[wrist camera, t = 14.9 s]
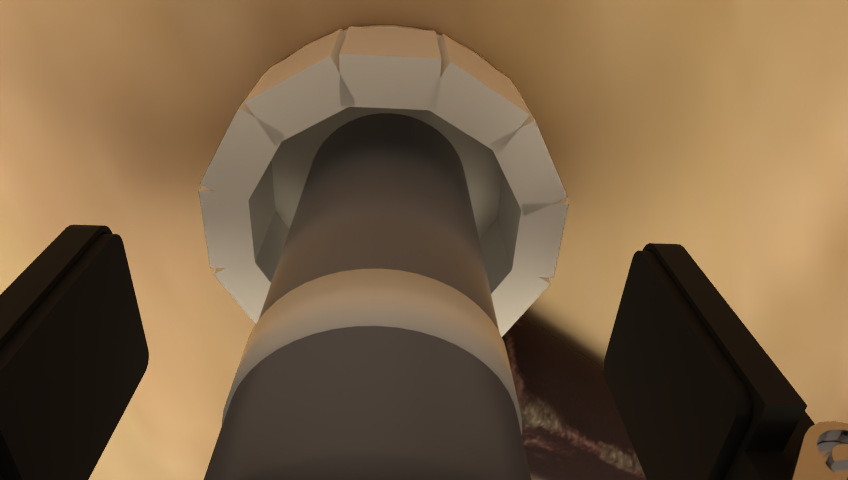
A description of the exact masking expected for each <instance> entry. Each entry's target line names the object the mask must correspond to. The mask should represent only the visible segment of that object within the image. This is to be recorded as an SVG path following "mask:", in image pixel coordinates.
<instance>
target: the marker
mask: <svg viewBox="0 0 848 480" xmlns="http://www.w3.org/2000/svg"><path fill="white" fill-rule="evenodd" d="M204 480H531V476H530V471H529V467H528V462H527V458H526V453H525V448H524V444H523V439H522V419H521V413H520V408H519V404H518V399H517V395H516V390H515V386H514V381H513V377H512V372H511V368H510V364H509V359H508V355H507V351H506V347H505V344H504V341H503V339H502V337H501V335H500V333H499V329H498V324H497V319H496V315H495V310H494V306H493V301H492V296H491V292H490V287H489V283H488V278H487V273H486V269H485V264H484V260H483V255H482V250H481V246H480V241H479V236H478V232H477V227H476V223H475V218H474V213H473V209H472V204H471V200H470V195H469V190H468V186H467V181H466V177H465V172H464V168H463V165H462V162H461V160H460V157H459V155H458V154H457V152H456V150H455V149H454V147H453V146H452V144H451V143H450V142H449V141H448V139H447V138H446V137H444V136H443V135H442V134H441V133H440V132H439V131H438V130H436V129H435V128H433V127H432V126H431V125H429V124H427V123H425V122H423V121H421V120H418V119H416V118H413V117H410V116H406V115H401V114H393V113H378V114H371V115H366V116H363V117H359V118H356V119H354V120H352V121H349V122H347V123H346V124H344V125H342V126H341V127H339V128H338V129H337V130H335V131H334V132H333V133H332V134H330V136H329V137H328V138H327V139H326V140H325V141H324V142H323V144H322V145H321V146H320V148H319V149H318V151H317V153H316V155H315V157H314V159H313V162H312V165H311V168H310V171H309V174H308V177H307V180H306V183H305V186H304V189H303V192H302V194H301V197H300V200H299V203H298V206H297V209H296V212H295V215H294V218H293V221H292V224H291V227H290V229H289V232H288V235H287V238H286V241H285V244H284V247H283V250H282V253H281V256H280V259H279V262H278V264H277V267H276V270H275V273H274V276H273V279H272V282H271V285H270V288H269V291H268V294H267V297H266V300H265V302H264V305H263V308H262V311H261V314H260V317H259V320H258V322H257V323H256V325H255V327H254V328H253V330H252V332H251V334H250V336H249V338H248V341H247V344H246V347H245V350H244V353H243V355H242V358H241V361H240V364H239V367H238V370H237V373H236V375H235V378H234V381H233V384H232V387H231V390H230V393H229V395H228V398H227V401H226V405H225V408H224V411H223V420H222V428H221V431H220V434H219V437H218V440H217V443H216V445H215V448H214V451H213V454H212V457H211V460H210V463H209V466H208V469H207V472H206V475H205V478H204Z"/></svg>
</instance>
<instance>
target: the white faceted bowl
mask: <svg viewBox="0 0 848 480" xmlns="http://www.w3.org/2000/svg"><path fill="white" fill-rule="evenodd" d="M378 113H393V114H401V115H406V116H410V117H413V118H416V119H418V120H421V121H423V122H425V123H427V124H429V125H431V126H432V127H433V128H435V129H436V130H438V131H439V132H440V133H441V134H442V135H443V136H444V137H446V138H447V139H448V141H449V142H450V143H451V144H452V146H453V147H454V149H455V150H456V152H457V154H458V155H459V157H460V160H461V162H462V165H463V168H464V172H465V177H466V181H467V186H468V190H469V195H470V200H471V204H472V209H473V213H474V218H475V223H476V227H477V232H478V236H479V241H480V246H481V250H482V255H483V260H484V264H485V269H486V273H487V278H488V283H489V287H490V292H491V296H492V301H493V306H494V310H495V315H496V319H497V324H498V329H499V333H500V335H501V337H502V336H503V335H504V334H505V333H506V332H507V331H508V330H509V329H510V328H511V327H512V325H513V324H514V323H515V322H516V321H517V320H518V319H519V318H520V317H521V316H522V314H523V313H524V312H525V311H526V310H527V309H528V308H529V307H530V306H531V305H532V304H533V302H534V301H535V300H536V299H537V298H538V297H539V296H540V295H541V294H542V293H543V291H544V290H545V289H546V288H547V287H548V286H549V285H550V282H549V279H548V277H549V278H554V274H555V269H556V264H557V259H558V254H559V249H560V244H561V239H562V234H563V229H564V224H565V219H566V214H567V209H568V203H567V201H566V199H565V198H567V194H566V192H565V190H564V187H563V185H562V182H561V180H560V178H559V175H558V173H557V171H556V168H555V166H554V164H553V161H552V159H551V157H550V154H549V152H548V149H547V147H546V145H545V142H544V140H543V138H542V135H541V133H540V131H539V128H538V126H537V124H536V121H535V119H534V118H533V116H532V114H531V112H530V111H529V109H528V107H527V105H526V104H525V102H524V100H523V98H522V97H521V95H520V93H519V91H518V90H517V88H516V86H515V85H513V83H512V82H511V80H510V79H509V78H508V77H506V76H505V75H503V74H502V73H500V72H499V71H497V70H496V69H495V68H494V67H493V66H492V65H490V64H489V63H488V62H487V61H485V60H484V59H483V58H482V57H480V56H479V55H478V54H477V53H475V52H474V51H472V50H470V49H468V48H467V47H465V46H463V45H462V44H460V43H458V42H456V41H454V40H452V39H450V38H449V37H447V36H446V35H444V34H442V35H439V34H437V33H435V31H430V30H422V29H418V28H414V27H406V26H397V25H369V26H363V27H353V26H349V29H346V30H342V28H341V29H339V30H337V31H335V32H334V33H332V34H329V35H326V36H324V37H322V38H320V39H318V40H315V41H313V42H311V43H309V44H307V45H305V46H304V47H302V48H301V49H299V50H298V51H296V52H295V53H293V54H291V55H290V56H289V57H288V58H286V59H285V60H283V61H281V62H279V63H277V64H275V65H274V66H272V67H270V68H269V69H268V71H267V72H266V73H264V74H263V76H262V77H261V78H260V80H259V81H258V82H257V84H256V85H255V86H254V88H253V89H252V90H251V92H250V93H249V95H248V96H247V97H246V99H245V100H244V101H243V103H242V104H241V105H240V107H239V108H238V110H237V112H236V114H235V116H234V118H233V120H232V122H231V124H230V126H229V128H228V130H227V132H226V134H225V136H224V137H223V139H222V141H221V143H220V145H219V147H218V149H217V151H216V153H215V155H214V157H213V159H212V161H211V163H210V165H209V167H208V169H207V171H206V173H205V175H204V177H203V179H202V181H201V182H200V184H201V185H203V186H202V187H201V189H200V190H199V197H200V203H201V210H202V216H203V223H204V230H205V236H206V243H207V249H208V256H209V262H210V268H216V270H215V272H214V276H215V277H216V278H217V279H218V280H219V282H220V283H221V284H222V285H223V286H224V287H225V289H226V290H227V291H228V292H229V293H230V295H231V296H232V297H233V298H234V299H235V301H236V302H237V303H238V304H239V305H240V307H241V308H242V309H243V310H244V311H245V312H246V314H247V315H248V316H249V317H250V318H251V320H252V321H253V322H254V323H255V324H256V323H257V322H258V320H259V317H260V314H261V311H262V308H263V305H264V302H265V300H266V297H267V294H268V291H269V288H270V285H271V282H272V279H273V276H274V273H275V270H276V267H277V264H278V262H279V259H280V256H281V253H282V250H283V247H284V244H285V241H286V238H287V235H288V232H289V229H290V227H291V224H292V221H293V218H294V215H295V212H296V209H297V206H298V203H299V200H300V197H301V194H302V192H303V189H304V186H305V183H306V180H307V177H308V174H309V171H310V168H311V165H312V162H313V159H314V157H315V155H316V153H317V151H318V149H319V148H320V146H321V145H322V144H323V142H324V141H325V140H326V139H327V138H328V137H329V136H330V134H332V133H333V132H334V131H335V130H337V129H338V128H339V127H341V126H342V125H344V124H346V123H347V122H349V121H352V120H354V119H356V118H359V117H363V116H366V115H371V114H378Z"/></svg>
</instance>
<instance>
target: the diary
mask: <svg viewBox="0 0 848 480" xmlns="http://www.w3.org/2000/svg"><path fill="white" fill-rule="evenodd" d="M502 339H503V341H504V344H505V347H506V351H507V355H508V359H509V364H510V368H511V372H512V377H513V381H514V386H515V390H516V395H517V399H518V404H519V408H520V413H521V419H522V439H523V444H524V448H525V453H526V458H527V462H528V467H529V471H530V476H531V480H647V479H646V477H645V474H644V472H643V470H642V467H641V465H640V462H639V460H638V457H637V455H636V453H635V450H634V448H633V445H632V443H631V440H630V438H629V436H628V433H627V431H626V428H625V426H624V423H623V421H622V419H621V416H620V414H619V411H618V409H617V406H616V404H615V402H614V399H613V397H612V394H611V392H610V390H609V387H608V385H607V382H606V379H605V376H604V370H603V369H602V368H600V367H598V366H597V365H595V364H594V363H592V362H591V361H589V360H588V359H586V358H585V357H583V356H582V355H580V354H579V353H577V352H576V351H574V350H573V349H571V348H569V347H568V346H566V345H565V344H563V343H562V342H560V341H559V340H557V339H556V338H554V337H553V336H551V335H550V334H548V333H547V332H545V331H544V330H542V329H540V328H539V327H537V326H536V325H534V324H533V323H531V322H530V321H528V320H527V319H525V318H524V317H522V316H521V317H520V318H519V319H518V320H517V321H516V322H515V323H514V324H513V325H512V327H511V328H510V329H509V330H508V331H507V332H506V333H505V334H504V335H503V336H502Z"/></svg>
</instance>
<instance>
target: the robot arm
mask: <svg viewBox="0 0 848 480" xmlns="http://www.w3.org/2000/svg"><path fill="white" fill-rule="evenodd" d="M148 360H149V352H148V347H147V342H146V338H145V334H144V330H143V325H142V321H141V317H140V313H139V308H138V304H137V300H136V296H135V291H134V287H133V283H132V279H131V274H130V270H129V266H128V262H127V257H126V253H125V249H124V245H123V241H122V238H121V237H120V236H119V235H118V234H112V232H111V230H110V229H109V228H108V227H107V226H96V225H70V226H68V227H67V228H66V229H65V230H64V231H63V232H62V233H61V234H60V235H59V236H58V237H57V238H56V239H55V240H54V241H53V242H52V243H51V244H50V245H49V246H48V247H47V248H46V249H45V250H44V251H43V252H42V253H41V254H40V255H39V256H38V257H37V258H36V259H35V260H34V261H33V262H32V263H31V264H30V265H29V266H28V267H27V268H26V269H25V270H24V271H23V272H22V273H21V274H20V275H19V276H18V278H17V279H16V280H15V281H14V282H13V283H12V284H11V285H10V286H9V287H8V288H7V289H6V290H5V291H4V292H3V293H2V294H1V295H0V480H88V479H89V477H90V475H91V474H92V472H93V470H94V468H95V466H96V464H97V462H98V460H99V458H100V457H101V455H102V453H103V451H104V449H105V447H106V445H107V443H108V441H109V439H110V438H111V436H112V434H113V432H114V430H115V428H116V426H117V424H118V422H119V421H120V419H121V417H122V415H123V413H124V411H125V409H126V407H127V405H128V404H129V402H130V400H131V398H132V396H133V394H134V392H135V390H136V388H137V387H138V385H139V383H140V381H141V379H142V377H143V375H144V373H145V371H146V369H147V365H148ZM604 376H605V379H606V382H607V385H608V387H609V390H610V392H611V394H612V397H613V399H614V402H615V404H616V406H617V409H618V411H619V414H620V416H621V419H622V421H623V423H624V426H625V428H626V431H627V433H628V436H629V438H630V440H631V443H632V445H633V448H634V450H635V453H636V455H637V457H638V460H639V462H640V465H641V467H642V470H643V472H644V474H645V477H646V479H647V480H848V424H847V423H841V422H836V421H831V422H820V423H817V424H814V422H813V421H812V420H811V419H810V417H809V416H808V415H807V413H806V412H805V409H806V407H807V405H806V404H805V402H804V401H803V400H802V398H801V397H800V396H799V395H798V393H797V392H796V391H795V389H794V388H793V387H792V386H791V384H790V383H789V382H788V380H787V379H786V378H785V377H784V375H783V374H782V373H781V371H780V370H779V369H778V368H777V366H776V365H775V364H774V363H773V361H772V360H771V359H770V357H769V356H768V355H767V354H766V352H765V351H764V350H763V348H762V347H761V346H760V345H759V343H758V342H757V341H756V339H755V338H754V337H753V336H752V334H751V333H750V332H749V330H748V329H747V328H746V327H745V325H744V324H743V323H742V321H741V320H740V319H739V318H738V316H737V315H736V314H735V313H734V311H733V310H732V309H731V307H730V306H729V305H728V304H727V302H726V301H725V300H724V298H723V297H722V296H721V295H720V293H719V292H718V291H717V289H716V288H715V287H714V286H713V284H712V283H711V282H710V280H709V279H708V278H707V277H706V275H705V274H704V273H703V272H702V270H701V269H700V268H699V266H698V265H697V264H696V263H695V261H694V260H693V259H692V257H691V256H690V255H689V254H688V252H687V251H686V250H685V248H684V247H683V246H681V245H679V244H653V243H649V244H647V245H646V246H645V247H644V249H643V251H637V252H636V253H635V254H634V256H633V259H632V262H631V266H630V269H629V273H628V277H627V280H626V284H625V287H624V291H623V295H622V298H621V302H620V305H619V309H618V313H617V316H616V320H615V323H614V327H613V331H612V334H611V338H610V341H609V345H608V349H607V352H606V356H605V360H604Z"/></svg>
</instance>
